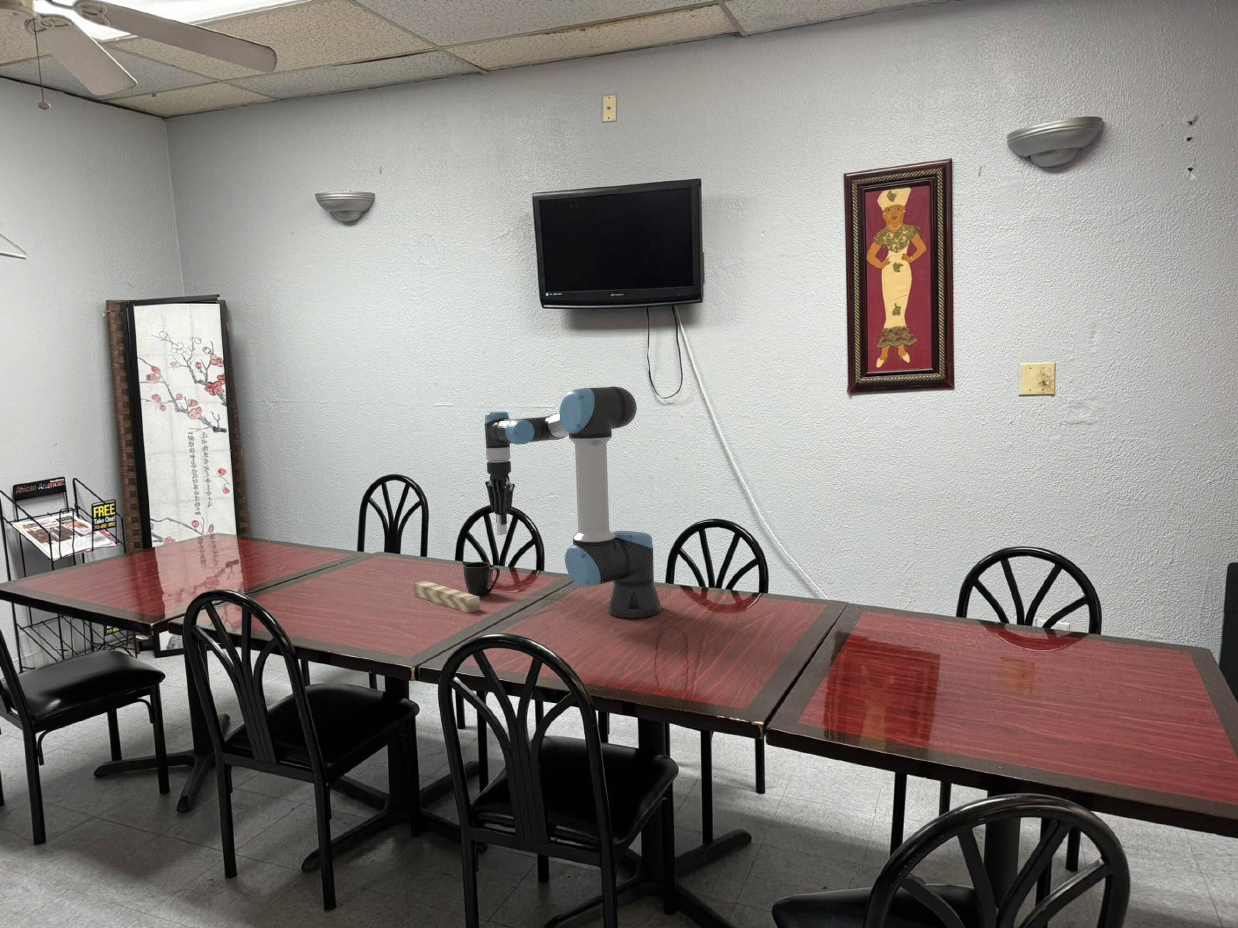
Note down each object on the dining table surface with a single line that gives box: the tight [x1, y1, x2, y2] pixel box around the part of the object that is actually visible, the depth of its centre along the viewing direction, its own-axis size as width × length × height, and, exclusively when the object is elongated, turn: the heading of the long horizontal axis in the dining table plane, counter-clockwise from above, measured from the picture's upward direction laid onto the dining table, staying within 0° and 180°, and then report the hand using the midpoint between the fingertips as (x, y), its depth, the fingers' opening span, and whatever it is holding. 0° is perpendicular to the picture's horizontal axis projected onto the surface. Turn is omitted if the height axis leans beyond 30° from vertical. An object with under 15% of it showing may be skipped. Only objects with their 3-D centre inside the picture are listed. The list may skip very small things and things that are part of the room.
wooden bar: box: [413, 580, 481, 614], centre depth 268 cm, size 30×4×4 cm, turn 43°
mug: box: [462, 561, 501, 597], centre depth 275 cm, size 8×12×10 cm
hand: (502, 534), depth 281 cm, fingers closed
